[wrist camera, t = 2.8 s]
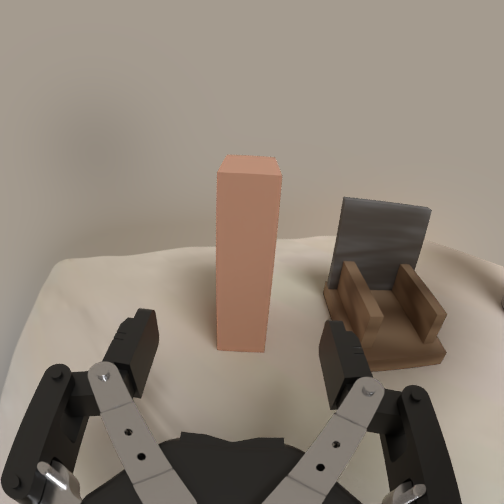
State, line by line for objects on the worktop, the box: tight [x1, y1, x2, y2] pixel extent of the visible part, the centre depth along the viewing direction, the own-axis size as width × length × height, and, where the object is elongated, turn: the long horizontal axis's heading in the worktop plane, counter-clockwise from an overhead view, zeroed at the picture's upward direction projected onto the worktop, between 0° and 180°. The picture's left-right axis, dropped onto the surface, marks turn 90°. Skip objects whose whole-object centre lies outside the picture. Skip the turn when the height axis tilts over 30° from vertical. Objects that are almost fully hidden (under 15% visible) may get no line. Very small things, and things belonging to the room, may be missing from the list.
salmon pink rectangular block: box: [216, 155, 282, 352], centre depth 25 cm, size 7×4×15 cm, turn 0°
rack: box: [323, 197, 447, 372], centre depth 26 cm, size 12×10×12 cm
